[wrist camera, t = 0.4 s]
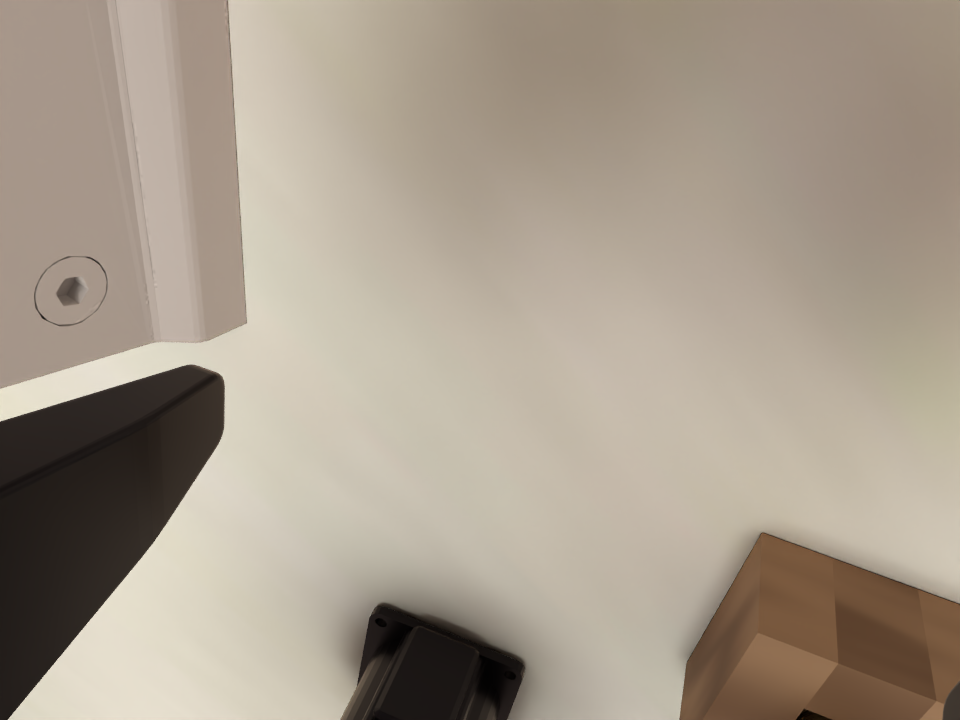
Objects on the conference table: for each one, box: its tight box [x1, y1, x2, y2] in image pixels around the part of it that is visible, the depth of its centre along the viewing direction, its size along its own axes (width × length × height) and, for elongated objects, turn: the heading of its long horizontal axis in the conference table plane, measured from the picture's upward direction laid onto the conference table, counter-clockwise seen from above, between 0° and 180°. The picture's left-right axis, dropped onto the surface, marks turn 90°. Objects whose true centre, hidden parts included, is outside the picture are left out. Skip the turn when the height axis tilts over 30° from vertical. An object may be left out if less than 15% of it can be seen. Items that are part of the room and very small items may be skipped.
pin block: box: [679, 533, 960, 720], centre depth 26 cm, size 7×7×4 cm
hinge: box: [0, 0, 246, 389], centre depth 21 cm, size 17×5×10 cm, turn 174°
